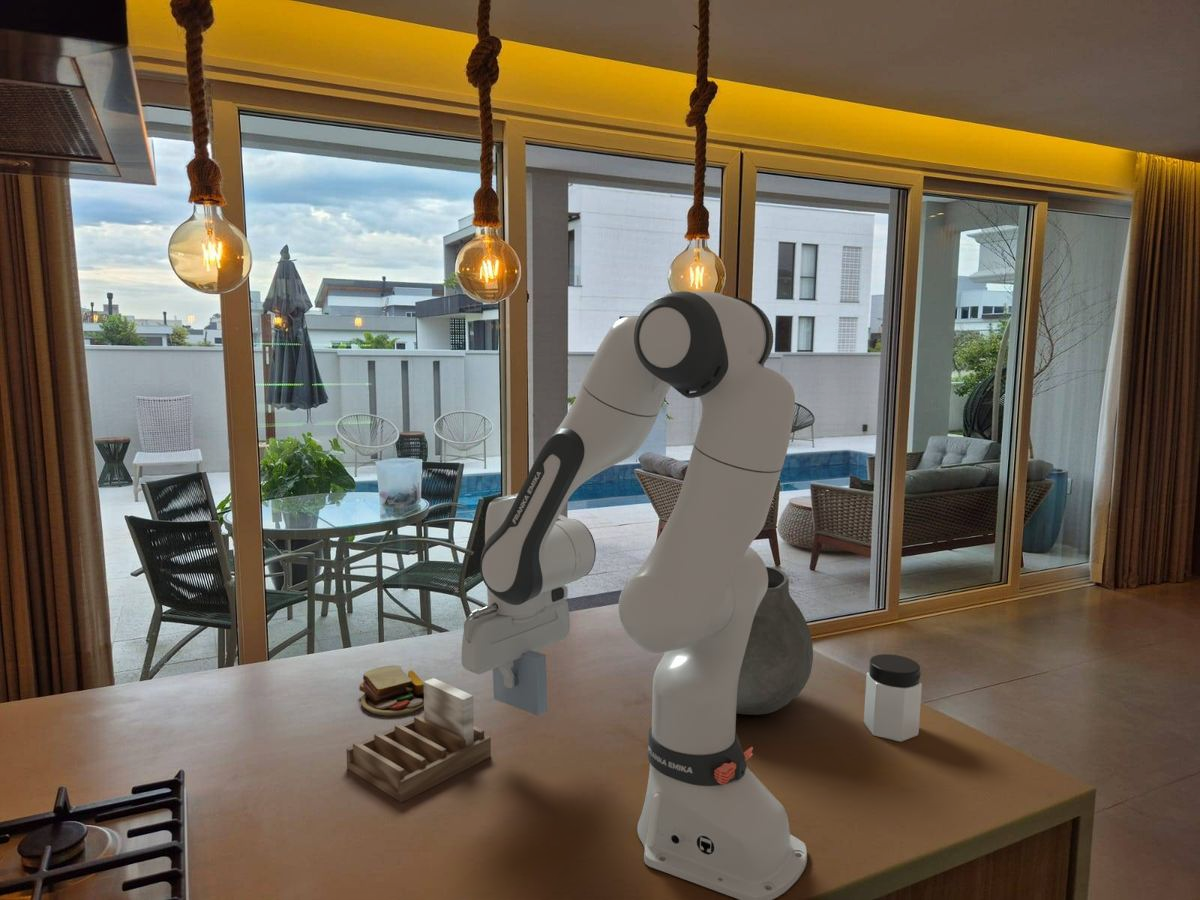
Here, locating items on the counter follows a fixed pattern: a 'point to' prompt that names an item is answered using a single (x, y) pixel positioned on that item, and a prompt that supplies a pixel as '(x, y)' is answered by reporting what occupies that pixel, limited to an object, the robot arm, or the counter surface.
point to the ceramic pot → (775, 652)
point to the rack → (423, 745)
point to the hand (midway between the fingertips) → (519, 682)
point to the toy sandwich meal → (391, 691)
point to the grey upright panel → (524, 684)
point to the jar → (893, 697)
